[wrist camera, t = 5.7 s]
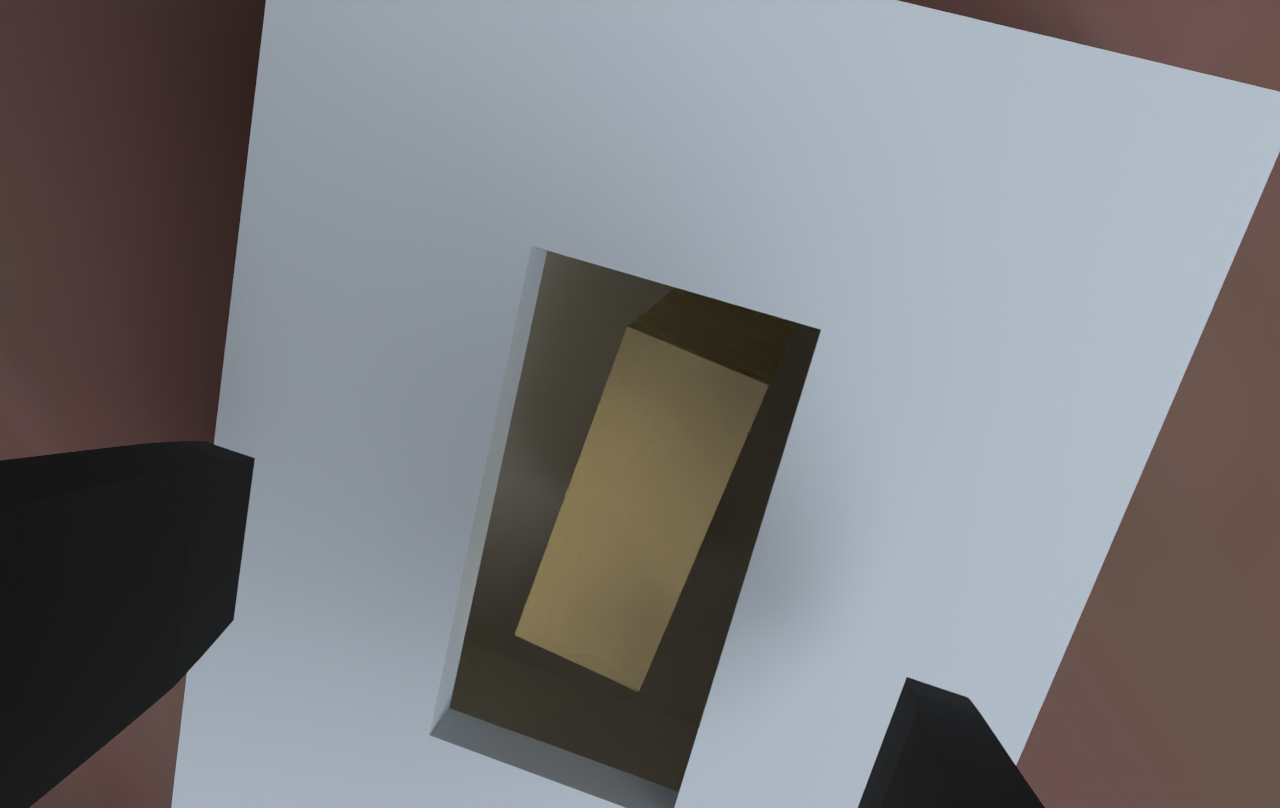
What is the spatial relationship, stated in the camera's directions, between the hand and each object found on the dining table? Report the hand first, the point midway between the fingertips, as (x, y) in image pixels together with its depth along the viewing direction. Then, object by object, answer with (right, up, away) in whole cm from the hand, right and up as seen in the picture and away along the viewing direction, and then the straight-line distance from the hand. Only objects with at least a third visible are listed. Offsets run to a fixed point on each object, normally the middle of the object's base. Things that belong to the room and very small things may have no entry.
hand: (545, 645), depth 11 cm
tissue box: (+2, +2, +9) cm, 9 cm away
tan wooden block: (+2, +2, +8) cm, 9 cm away
